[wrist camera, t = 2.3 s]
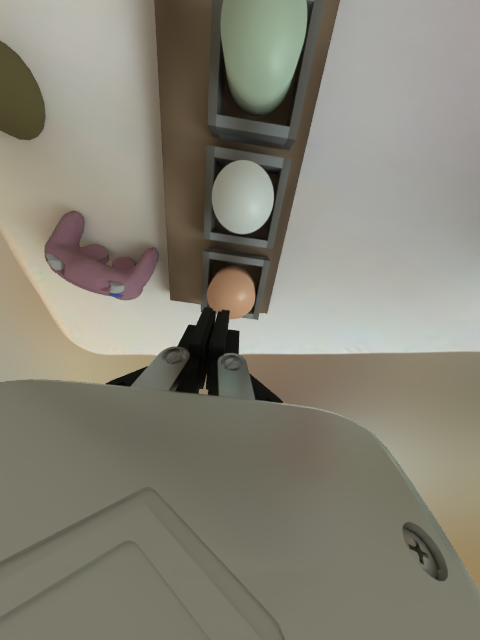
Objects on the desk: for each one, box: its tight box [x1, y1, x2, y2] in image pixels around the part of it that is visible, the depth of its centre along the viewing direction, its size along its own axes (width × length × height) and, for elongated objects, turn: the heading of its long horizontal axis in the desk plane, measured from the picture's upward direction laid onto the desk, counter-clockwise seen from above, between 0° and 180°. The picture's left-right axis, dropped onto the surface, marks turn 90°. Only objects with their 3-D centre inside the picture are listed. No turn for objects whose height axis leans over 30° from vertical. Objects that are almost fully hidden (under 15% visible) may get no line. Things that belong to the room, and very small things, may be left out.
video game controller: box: [45, 211, 159, 300], centre depth 20 cm, size 10×5×7 cm, turn 65°
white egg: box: [212, 160, 274, 234], centre depth 14 cm, size 4×4×3 cm
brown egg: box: [207, 266, 255, 319], centre depth 18 cm, size 4×4×3 cm
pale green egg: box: [221, 0, 307, 116], centre depth 11 cm, size 4×4×3 cm
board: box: [155, 0, 340, 320], centre depth 16 cm, size 12×26×4 cm, turn 172°
